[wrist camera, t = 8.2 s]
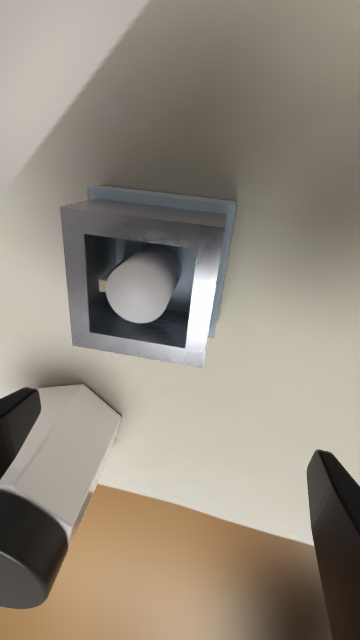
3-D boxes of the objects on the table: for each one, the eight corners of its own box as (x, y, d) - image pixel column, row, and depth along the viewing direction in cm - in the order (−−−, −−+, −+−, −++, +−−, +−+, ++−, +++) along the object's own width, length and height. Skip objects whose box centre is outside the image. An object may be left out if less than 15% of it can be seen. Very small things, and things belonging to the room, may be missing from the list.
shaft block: (236, 201, 17) (238, 215, 11) (215, 323, 20) (209, 377, 15) (102, 185, 18) (46, 192, 12) (105, 306, 21) (63, 351, 16)
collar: (208, 330, 19) (202, 368, 15) (101, 313, 19) (72, 345, 16) (226, 214, 15) (225, 227, 12) (98, 198, 16) (60, 206, 12)
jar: (38, 366, 25) (-103, 510, 14) (128, 398, 25) (53, 565, 15) (33, 434, 29) (-80, 583, 19) (110, 461, 29) (41, 625, 19)
